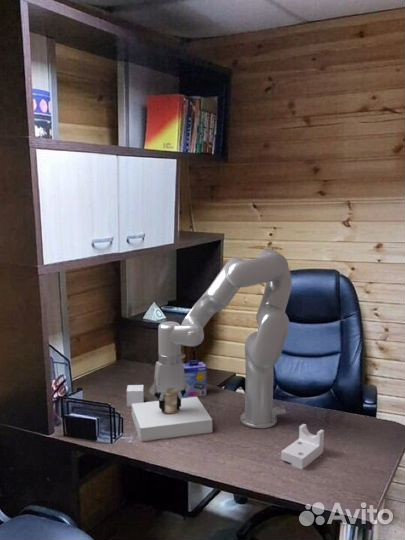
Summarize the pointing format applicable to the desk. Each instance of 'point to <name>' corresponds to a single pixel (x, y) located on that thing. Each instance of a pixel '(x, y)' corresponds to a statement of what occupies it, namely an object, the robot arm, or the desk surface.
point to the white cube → (135, 394)
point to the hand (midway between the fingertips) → (170, 408)
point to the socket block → (170, 420)
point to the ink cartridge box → (195, 378)
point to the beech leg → (170, 401)
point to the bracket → (304, 448)
